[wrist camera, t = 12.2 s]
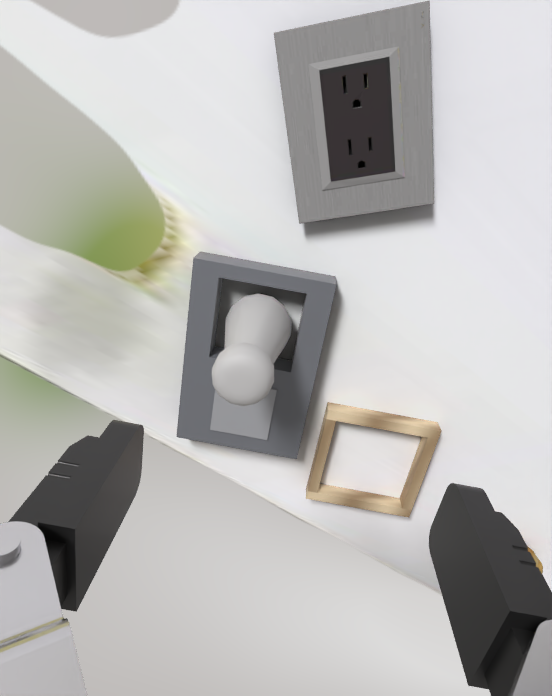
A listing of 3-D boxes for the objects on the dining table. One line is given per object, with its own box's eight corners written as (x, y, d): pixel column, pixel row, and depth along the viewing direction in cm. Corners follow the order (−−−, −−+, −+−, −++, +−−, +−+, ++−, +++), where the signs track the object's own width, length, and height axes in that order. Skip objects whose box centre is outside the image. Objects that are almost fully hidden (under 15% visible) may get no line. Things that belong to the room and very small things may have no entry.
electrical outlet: (428, 200, 38) (434, 204, 36) (300, 220, 39) (299, 224, 37) (422, 9, 33) (430, -1, 31) (276, 39, 34) (273, 31, 32)
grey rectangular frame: (335, 276, 40) (336, 285, 38) (297, 444, 48) (296, 460, 45) (200, 251, 40) (192, 258, 38) (183, 423, 48) (176, 438, 45)
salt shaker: (299, 295, 41) (294, 355, 29) (285, 351, 44) (274, 429, 32) (235, 280, 41) (204, 334, 29) (224, 337, 43) (191, 409, 32)
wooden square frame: (437, 422, 45) (441, 431, 44) (406, 507, 50) (408, 517, 49) (327, 402, 45) (328, 410, 44) (306, 488, 50) (306, 498, 49)
